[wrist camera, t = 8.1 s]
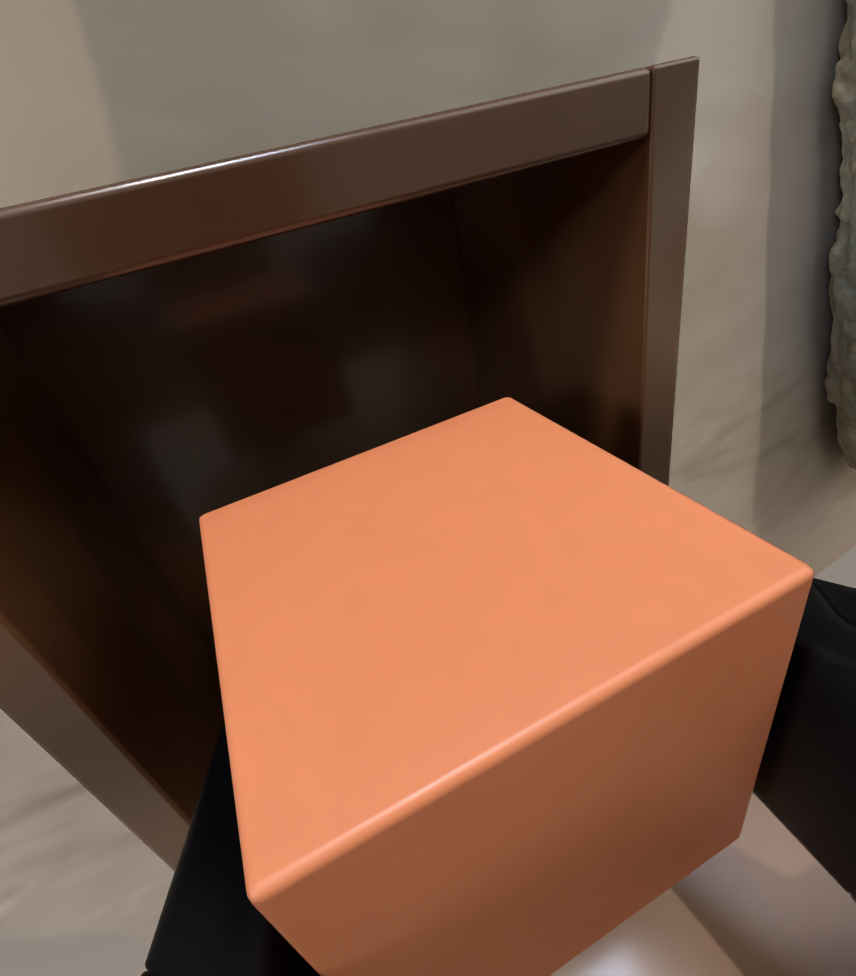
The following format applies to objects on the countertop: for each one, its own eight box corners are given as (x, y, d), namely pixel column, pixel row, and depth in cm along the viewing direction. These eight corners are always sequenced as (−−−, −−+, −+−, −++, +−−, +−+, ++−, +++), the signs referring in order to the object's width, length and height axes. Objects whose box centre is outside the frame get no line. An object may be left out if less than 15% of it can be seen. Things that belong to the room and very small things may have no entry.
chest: (-89, 241, 10) (-437, 305, 4) (454, 119, 13) (701, 54, 7) (210, 685, 17) (237, 932, 12) (511, 543, 20) (654, 683, 14)
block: (533, 609, 11) (743, 837, 7) (310, 723, 10) (412, 1078, 6) (508, 393, 8) (822, 567, 4) (195, 514, 7) (242, 906, 3)
